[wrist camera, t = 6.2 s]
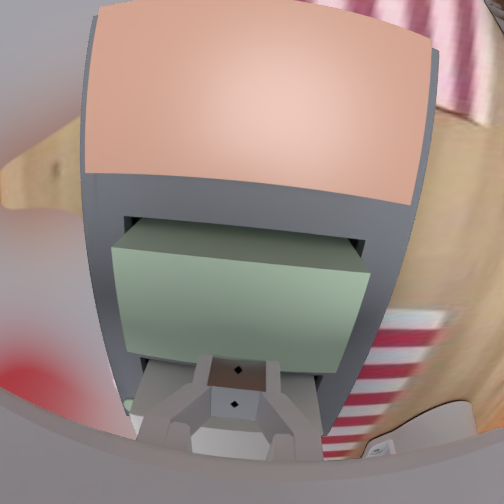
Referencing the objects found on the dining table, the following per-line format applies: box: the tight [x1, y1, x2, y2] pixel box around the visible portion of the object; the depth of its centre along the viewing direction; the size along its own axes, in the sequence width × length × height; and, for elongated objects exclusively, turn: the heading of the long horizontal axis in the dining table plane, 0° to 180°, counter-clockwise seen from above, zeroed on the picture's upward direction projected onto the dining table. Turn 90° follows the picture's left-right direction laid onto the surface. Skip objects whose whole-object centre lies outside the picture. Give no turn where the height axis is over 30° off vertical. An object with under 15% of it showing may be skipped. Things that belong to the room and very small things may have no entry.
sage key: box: [111, 217, 371, 373], centre depth 16 cm, size 6×11×5 cm, turn 84°
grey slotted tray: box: [80, 15, 439, 436], centre depth 18 cm, size 28×17×5 cm, turn 174°
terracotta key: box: [85, 0, 432, 205], centre depth 10 cm, size 6×11×5 cm, turn 84°
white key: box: [129, 359, 323, 460], centre depth 18 cm, size 6×11×5 cm, turn 84°
